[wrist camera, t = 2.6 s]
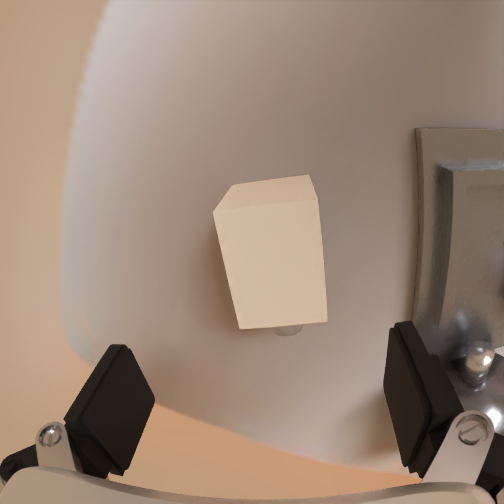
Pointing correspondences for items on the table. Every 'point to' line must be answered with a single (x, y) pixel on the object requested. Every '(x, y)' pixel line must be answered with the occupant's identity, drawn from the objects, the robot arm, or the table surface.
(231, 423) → the table surface
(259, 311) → the block
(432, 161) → the electric bell
